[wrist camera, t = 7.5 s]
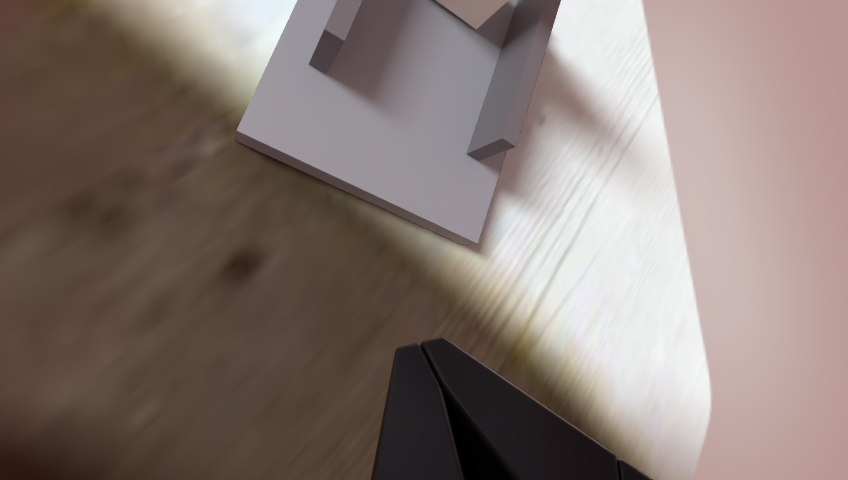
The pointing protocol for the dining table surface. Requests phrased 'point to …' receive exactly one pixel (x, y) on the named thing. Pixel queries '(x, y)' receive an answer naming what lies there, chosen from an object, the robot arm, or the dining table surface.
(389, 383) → the robot arm
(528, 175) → the dining table surface
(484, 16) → the block
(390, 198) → the grey walled base plate
